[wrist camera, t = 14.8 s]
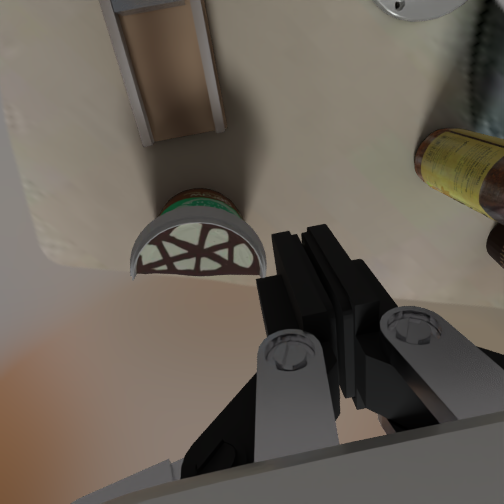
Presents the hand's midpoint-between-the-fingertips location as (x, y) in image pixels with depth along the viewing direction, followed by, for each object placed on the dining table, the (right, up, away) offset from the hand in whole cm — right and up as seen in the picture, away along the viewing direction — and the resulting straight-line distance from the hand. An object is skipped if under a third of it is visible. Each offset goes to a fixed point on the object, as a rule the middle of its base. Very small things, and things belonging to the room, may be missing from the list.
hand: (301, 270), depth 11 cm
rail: (-9, +19, +19) cm, 29 cm away
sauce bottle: (+19, +11, +28) cm, 35 cm away
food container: (-7, +6, +27) cm, 29 cm away
